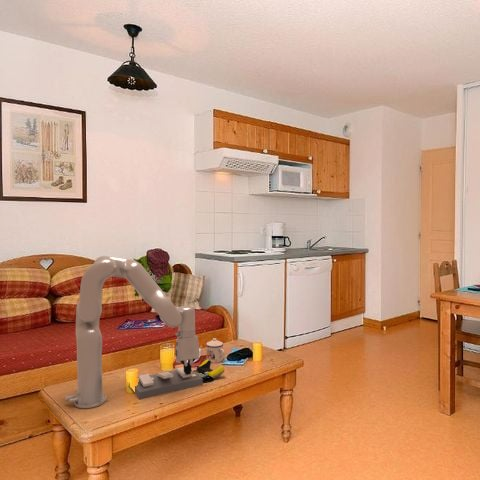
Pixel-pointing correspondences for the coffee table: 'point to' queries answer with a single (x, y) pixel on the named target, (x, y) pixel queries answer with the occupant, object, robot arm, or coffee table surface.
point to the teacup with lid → (215, 351)
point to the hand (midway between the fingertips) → (187, 373)
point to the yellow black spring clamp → (206, 370)
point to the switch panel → (167, 384)
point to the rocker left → (145, 378)
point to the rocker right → (182, 371)
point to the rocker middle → (164, 374)
